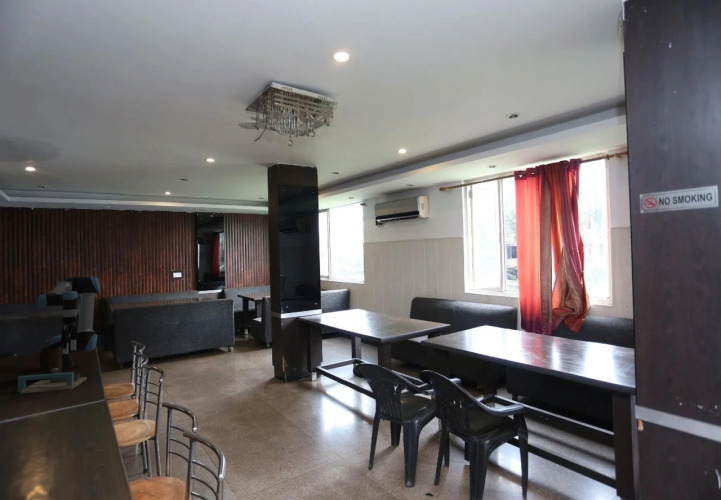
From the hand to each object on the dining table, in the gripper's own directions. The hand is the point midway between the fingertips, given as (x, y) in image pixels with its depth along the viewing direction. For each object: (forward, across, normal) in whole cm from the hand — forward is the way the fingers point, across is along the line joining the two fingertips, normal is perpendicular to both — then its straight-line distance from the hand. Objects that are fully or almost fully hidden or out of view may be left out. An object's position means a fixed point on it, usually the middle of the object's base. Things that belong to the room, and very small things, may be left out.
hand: (69, 352), depth 245 cm
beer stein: (+18, -11, -16) cm, 27 cm away
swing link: (+16, +7, 0) cm, 17 cm away
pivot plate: (+18, +11, -3) cm, 21 cm away
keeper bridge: (+18, +16, -5) cm, 25 cm away
